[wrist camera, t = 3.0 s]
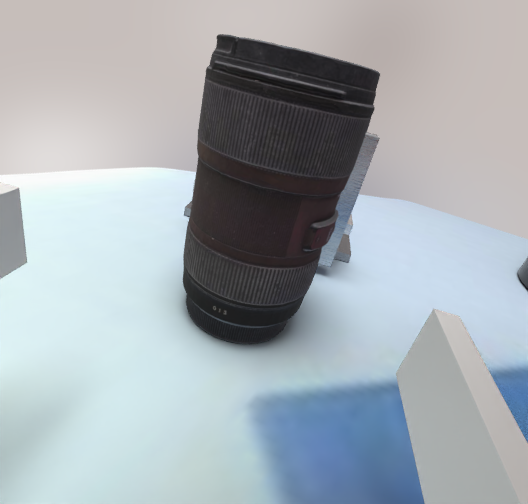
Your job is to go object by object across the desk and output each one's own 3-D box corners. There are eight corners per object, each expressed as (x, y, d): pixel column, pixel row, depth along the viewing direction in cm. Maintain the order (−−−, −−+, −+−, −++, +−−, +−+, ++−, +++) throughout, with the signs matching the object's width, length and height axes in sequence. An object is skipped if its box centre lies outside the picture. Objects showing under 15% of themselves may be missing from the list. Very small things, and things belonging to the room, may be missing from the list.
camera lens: (268, 270, 28) (327, 62, 21) (318, 344, 22) (426, 84, 15) (165, 273, 24) (193, 24, 17) (189, 362, 18) (249, 31, 11)
